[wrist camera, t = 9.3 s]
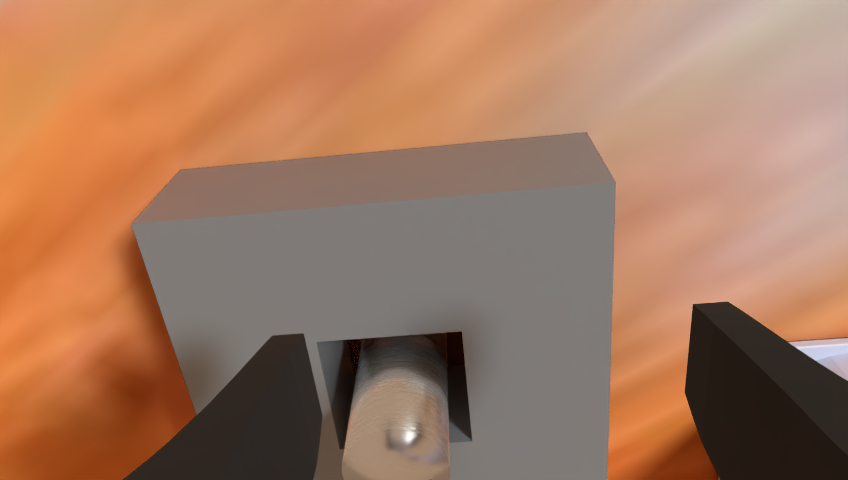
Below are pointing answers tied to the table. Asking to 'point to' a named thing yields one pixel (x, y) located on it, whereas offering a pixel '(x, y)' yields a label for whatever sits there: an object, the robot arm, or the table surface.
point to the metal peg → (399, 410)
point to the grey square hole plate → (408, 286)
